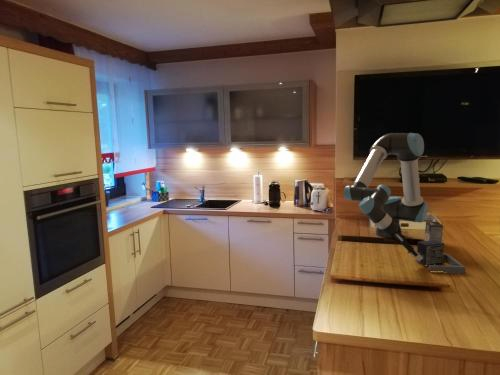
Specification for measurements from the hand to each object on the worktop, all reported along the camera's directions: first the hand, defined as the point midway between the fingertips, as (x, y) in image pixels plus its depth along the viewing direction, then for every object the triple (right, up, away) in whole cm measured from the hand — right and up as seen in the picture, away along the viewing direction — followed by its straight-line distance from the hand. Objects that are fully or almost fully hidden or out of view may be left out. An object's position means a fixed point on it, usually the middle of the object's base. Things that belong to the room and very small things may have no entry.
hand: (420, 259), depth 178 cm
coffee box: (+14, 0, +18) cm, 22 cm away
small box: (+6, -3, +3) cm, 7 cm away
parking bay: (+9, -3, 0) cm, 9 cm away
